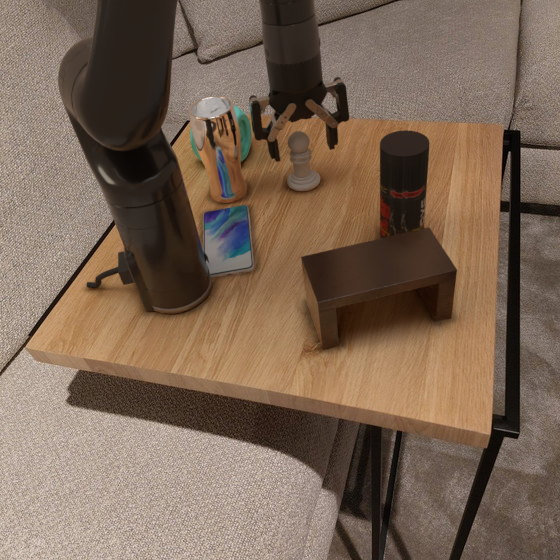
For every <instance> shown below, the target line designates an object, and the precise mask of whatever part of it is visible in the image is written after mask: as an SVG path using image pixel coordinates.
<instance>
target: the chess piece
mask: <svg viewBox="0 0 560 560" xmlns="http://www.w3.org/2000/svg"><path fill="white" fill-rule="evenodd" d="M287 145H288V148H289V150H290V151H289V160H290V162H291V163H292V169H293V171H292V172H291V173H290V174H289V175H288V176H287V179H286V184H287V186H288V187H289V189H291V190H294V191H296V192H309V191H311V190H313V189H315V188H316V187H318V186H319V184H320V182H321V176H320V174H319V173H318V172H317V171H315V170H313V169H311V160H312V150H311V149H310V148H309V147H310V136H309V135H308V134H307V133H306V132H304V131H301V130H297V131H294V132H292V133H291V134H290V135H289V137H288V139H287Z"/></svg>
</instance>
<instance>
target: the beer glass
mask: <svg viewBox="0 0 560 560" xmlns="http://www.w3.org/2000/svg"><path fill="white" fill-rule="evenodd" d="M233 105H234V102H233V100H232V99H230V98H229V97H226V96H220V95H213V96H207V97H204V98H201V99H198V100H196V101H195V102H193V103H191V105H190V106H189V108H188V115H189V122H190V130H191V129H192V134H193V138H194V142H195V145H196V148H197V150H198V153H199V155H200V157H201V160H202V161H201V160H200V161H201V163H202V164H203V166H204V168H205V171H206V173H207V175H208V180H209V194H210V198H211V199H212V200H213V201H214V202H217V203H220V204H231V203H234V202H237V201H239V200H241V199H243V198H244V197H245V196H246V195H247V193H248V185H247V182H246V179H245V177H244V175H243V171H242V162H241V137H240V130H239V125H238V120H237V117H236V113H235V110H234V106H235V105H234V106H233Z"/></svg>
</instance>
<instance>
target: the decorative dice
mask: <svg viewBox="0 0 560 560" xmlns="http://www.w3.org/2000/svg"><path fill="white" fill-rule="evenodd" d="M233 106H234V110H235V113H236V117H237V120H238V125H239V130H240V137H241V163H242V162H244V160H245V159H246V158H247V157H248V155H249V153H250V150H251V145H252V133H253V132H252V123H251V121H250V118H249V116H248V115H247V114H246V113H245V112H244V111H243V110H242V109H241V108H240V107H238V106H237V105H234V104H233ZM189 140H190V146H191V149H192V152H193V153H194V155H195V156H196V158H197V159H198V160H199V161H200V162H202V160H201V157H200V155H199V153H198V150H197V148H196V145H195V142H194V138H193V134H192V129H191V128H190V131H189Z"/></svg>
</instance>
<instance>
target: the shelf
mask: <svg viewBox="0 0 560 560" xmlns="http://www.w3.org/2000/svg"><path fill="white" fill-rule="evenodd" d="M300 261H301V262H300V263H301V270H302V277H303V286H304V293H305V303H306V305H307V309H308V311H309V314H310V318H311V320H312V322H313V323H312V324H313V326H314V329H315V331H316V335H317V337H318V340H319V343H320V346H321V348H322V350H326V349H331V348H334V347H338V346H339V345H340V344H339V342H340V341H339V328H338V315H337V308H341V307H345V306H350V305H354V304H357V303H362V302H367V301H370V300H375V299H379V298H383V297H387V296H392V295H396V294H400V293H404V292H409V291H414V290H417V291H418V293H419V296H420V297H421V298H422V300H423V302H424V304H425V306H426V307H427V310H428V311H429V312H430V315H431V316H432V318H433V320H434V322H435V323H437V322H440V321H446V320H450V319H452V316H453V308H454V299H455V293H456V292H455V291H456V283H457V275H458V269H457V268H456V266H455V264H454V263H453V261H452V259H451V258H450V257H449V255H448V253H447V252H446V250H445V249H444V247H443V245H442V244H441V243H440V241H439V240H438V238H437V237H436V235H435V234H434V232H433V231H432V229H431V228H430V226H429V227H427V226H426V227H424V228H423V229H419V230H415V231H410V232H406V233H402V234H397V235H393V236H389V237H384V238H380V237H379V238H375V239H371V240H368V241H363V242H359V243H354V244H349V245H346V246H342V247H338V248H332V249H328V250H323V251H320V252H315V253H312V254H311V253H310V254H307V255H303V256H300Z"/></svg>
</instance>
